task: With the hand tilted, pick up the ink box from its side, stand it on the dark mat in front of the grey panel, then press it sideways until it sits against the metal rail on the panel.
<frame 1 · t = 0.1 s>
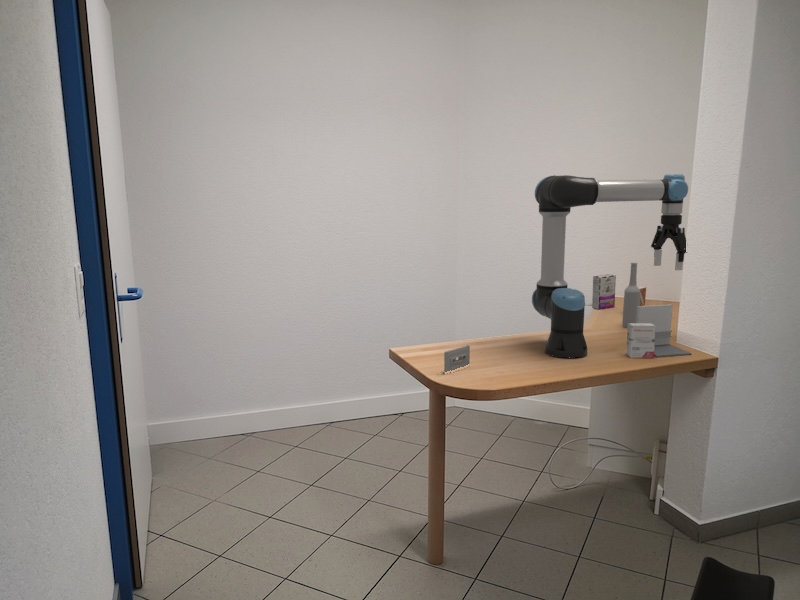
hand: (667, 267, 236), 28 cm above the table, tool pointing down, fingers open, 13 cm apart
rail panel: (652, 346, 226), on the table
bottle: (630, 327, 257), on the table
cassette: (457, 370, 201), on the table
candy bar box: (602, 308, 296), on the table
ink box: (639, 356, 214), on the table
small box: (634, 314, 281), on the table
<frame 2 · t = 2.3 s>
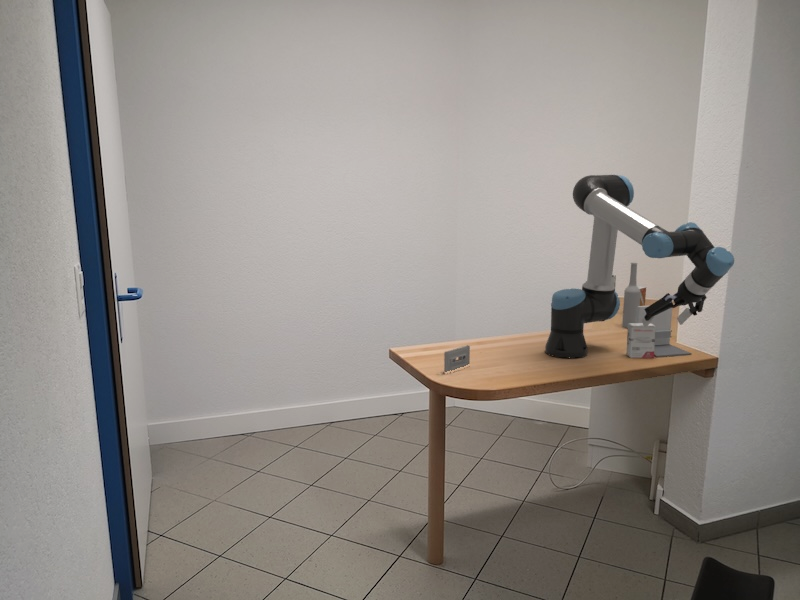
hand: (661, 322, 201), 15 cm above the table, tool tilted 45°, fingers open, 13 cm apart
nothing on the table moved.
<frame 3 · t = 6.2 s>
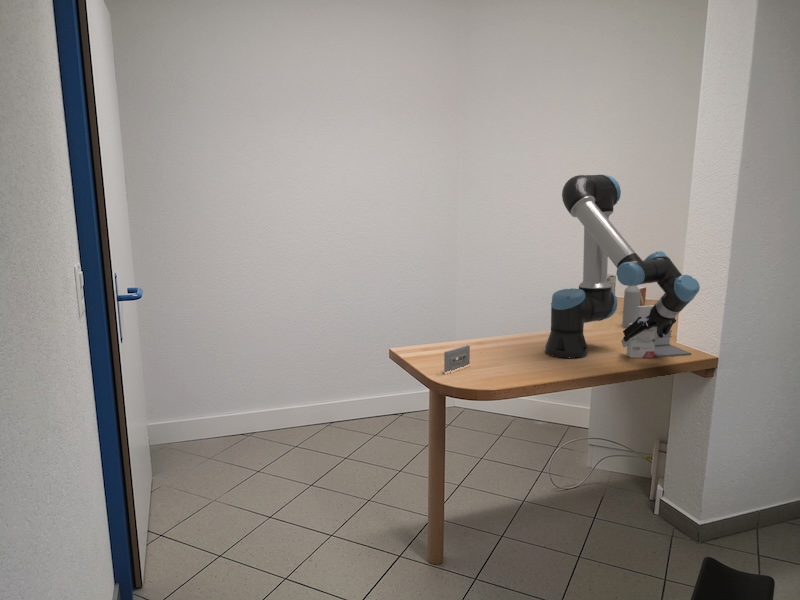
hand: (635, 343, 216), 4 cm above the table, tool tilted 45°, fingers closed on ink box, 9 cm apart
ink box: (639, 356, 214), on the table, touching gripper
everything else where it was.
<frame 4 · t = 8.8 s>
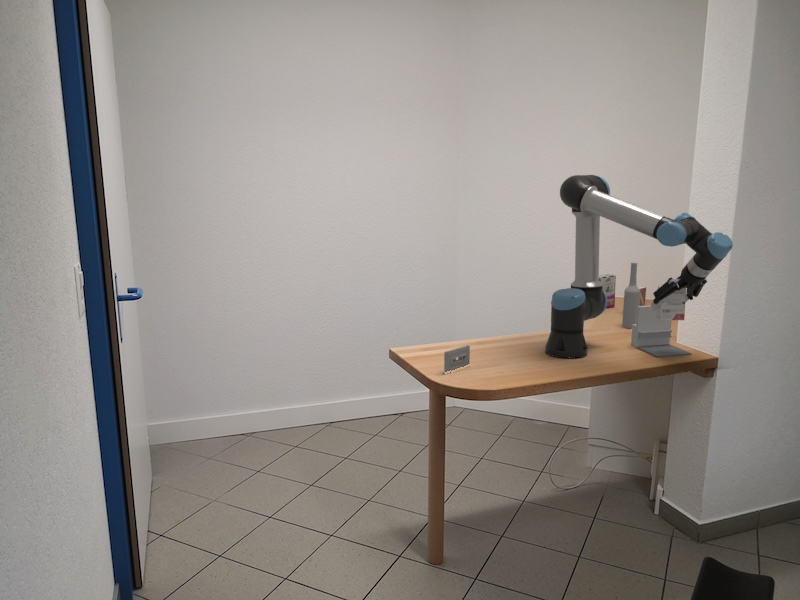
hand: (665, 306, 217), 17 cm above the table, tool tilted 45°, fingers closed on ink box, 9 cm apart
ink box: (669, 319, 214), point 13 cm above the table, touching gripper
everything else where it was.
when the fingers open (6 cm above the table, at t = 11.3 s): ink box drops 1 cm, resting on rail panel.
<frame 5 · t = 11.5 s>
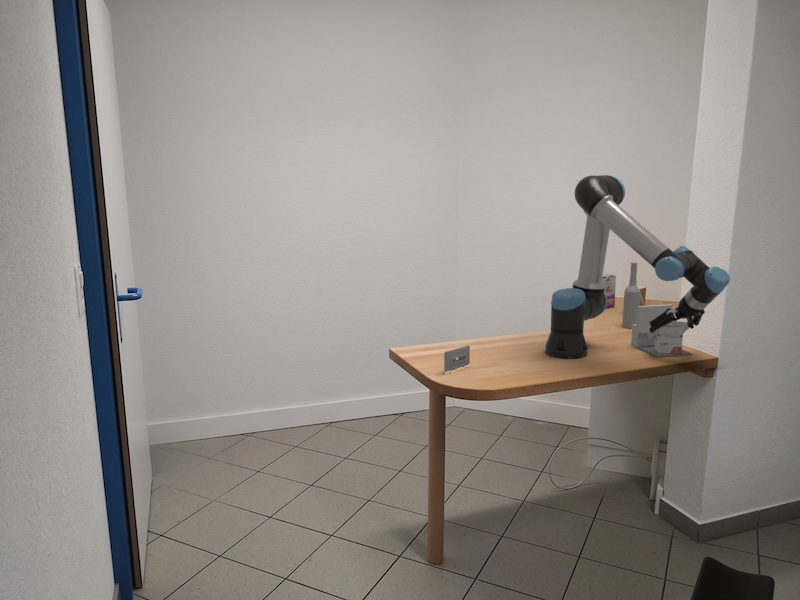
hand: (663, 334, 219), 6 cm above the table, tool tilted 45°, fingers open, 11 cm apart
ink box: (667, 351, 217), resting on rail panel
everything else where it was.
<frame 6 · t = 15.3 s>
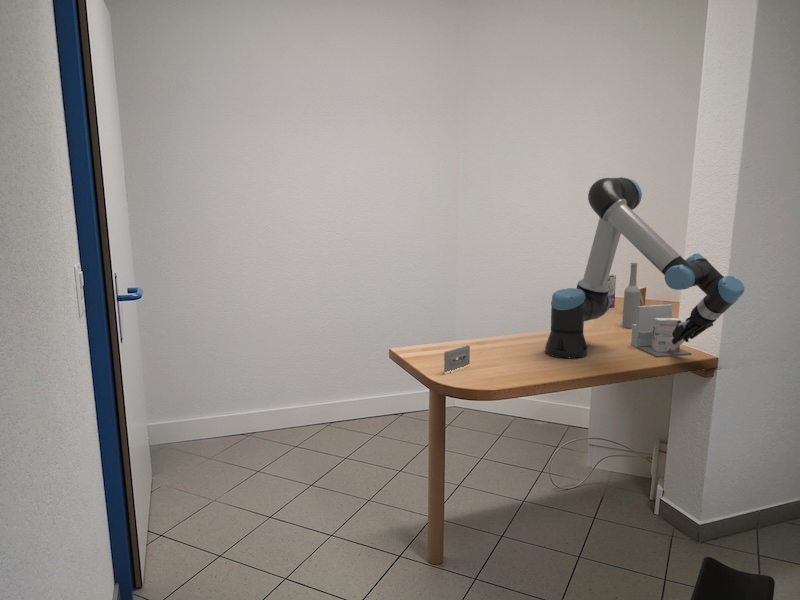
hand: (671, 346, 214), 3 cm above the table, tool tilted 45°, fingers closed
ink box: (665, 350, 219), resting on rail panel
everything else where it was.
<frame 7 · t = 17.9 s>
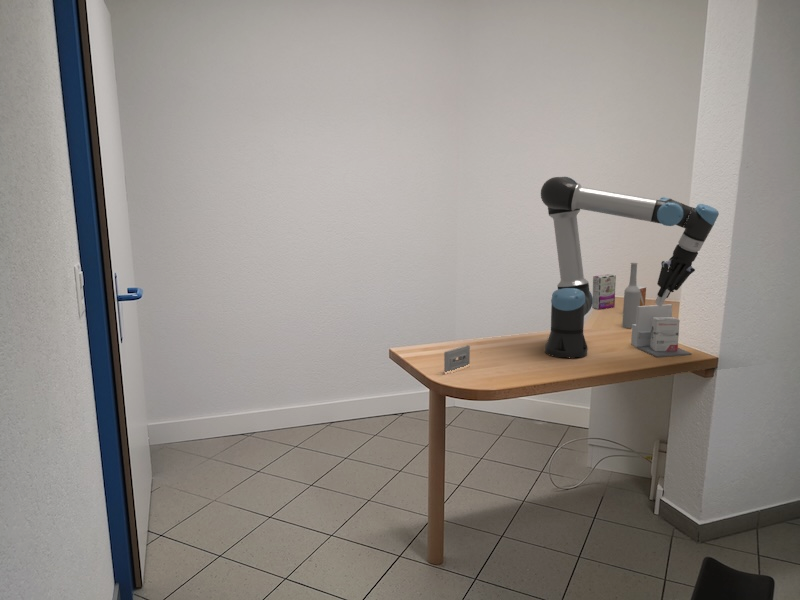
hand: (658, 304, 219), 17 cm above the table, tool tilted 25°, fingers closed
ink box: (663, 349, 220), resting on rail panel
everything else where it was.
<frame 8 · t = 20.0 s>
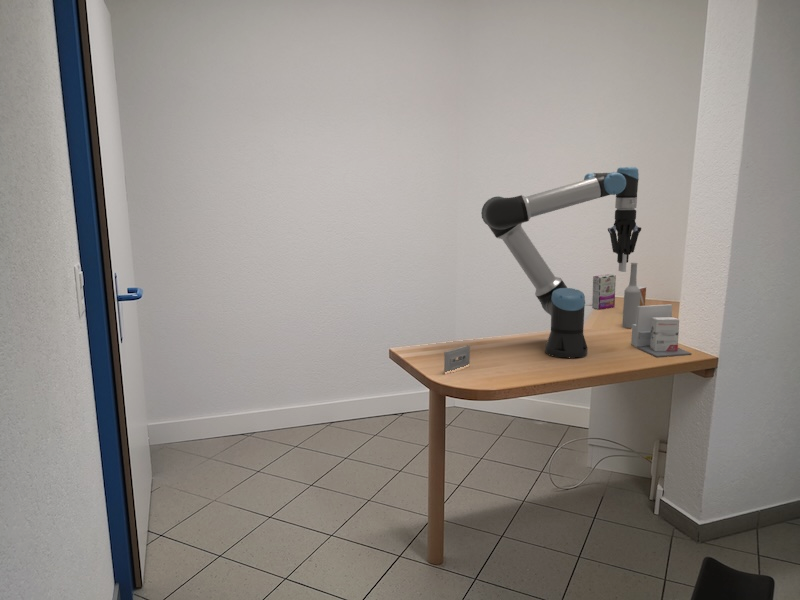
hand: (622, 271, 226), 28 cm above the table, tool pointing down, fingers closed
nothing on the table moved.
at the end: ink box inside the target area on the rail panel (0.4 cm from its centre), point 0.4 cm above the rail panel's base; ink box tilted 0°; the gripper is holding nothing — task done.
